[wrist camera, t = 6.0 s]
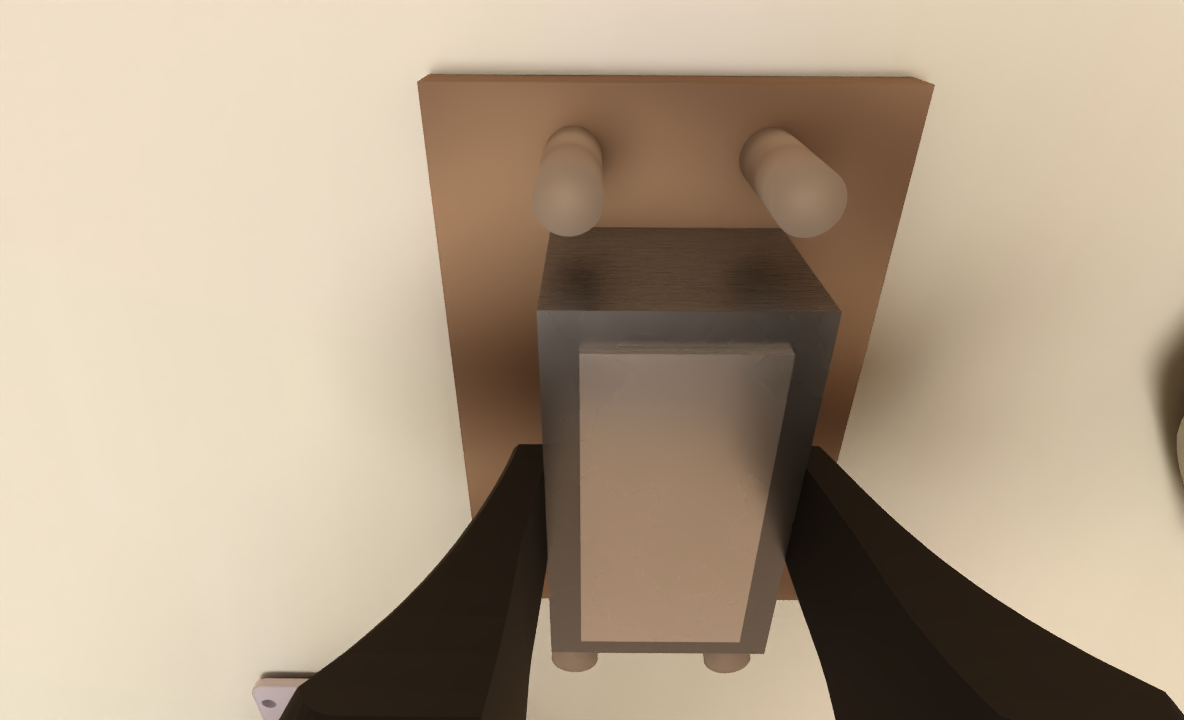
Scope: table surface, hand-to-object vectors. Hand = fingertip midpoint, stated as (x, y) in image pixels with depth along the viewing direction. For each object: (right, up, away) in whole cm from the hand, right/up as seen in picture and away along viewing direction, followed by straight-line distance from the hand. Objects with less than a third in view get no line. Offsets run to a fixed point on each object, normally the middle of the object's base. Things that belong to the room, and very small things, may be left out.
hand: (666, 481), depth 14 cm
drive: (0, +2, +3) cm, 3 cm away
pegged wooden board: (0, +2, +3) cm, 4 cm away
